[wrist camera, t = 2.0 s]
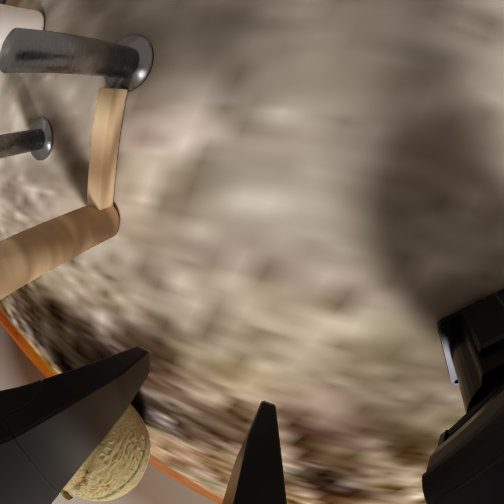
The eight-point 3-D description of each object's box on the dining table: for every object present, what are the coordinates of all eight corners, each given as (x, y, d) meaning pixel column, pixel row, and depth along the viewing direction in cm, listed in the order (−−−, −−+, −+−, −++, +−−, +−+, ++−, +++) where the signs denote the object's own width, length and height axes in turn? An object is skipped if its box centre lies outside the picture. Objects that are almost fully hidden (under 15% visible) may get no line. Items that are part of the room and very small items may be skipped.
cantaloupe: (116, 344, 28) (16, 442, 15) (195, 442, 31) (135, 541, 18) (61, 361, 35) (-11, 426, 21) (125, 438, 37) (71, 507, 24)
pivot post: (163, 64, 17) (40, 41, 8) (120, 104, 19) (0, 109, 10) (138, 24, 16) (25, -6, 8) (99, 63, 18) (-13, 57, 9)
